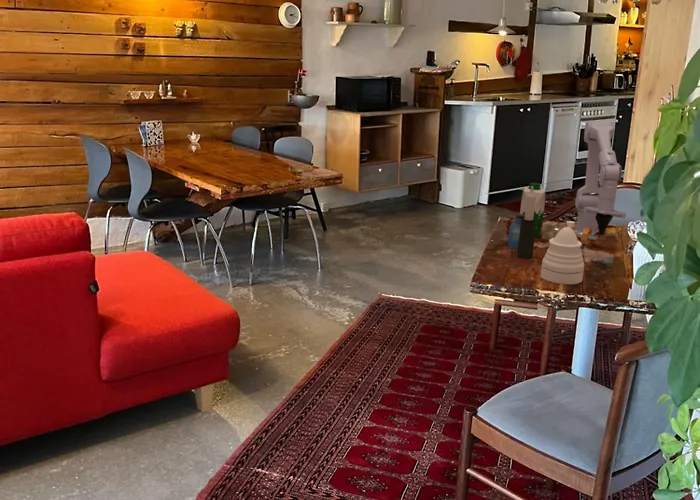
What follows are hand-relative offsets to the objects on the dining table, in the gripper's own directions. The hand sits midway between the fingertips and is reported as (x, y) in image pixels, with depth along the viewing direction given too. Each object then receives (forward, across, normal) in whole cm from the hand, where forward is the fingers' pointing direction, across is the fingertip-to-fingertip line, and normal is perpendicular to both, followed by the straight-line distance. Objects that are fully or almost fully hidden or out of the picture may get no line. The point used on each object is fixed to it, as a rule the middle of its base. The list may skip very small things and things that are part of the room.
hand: (601, 234), depth 247 cm
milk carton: (+5, -27, 0) cm, 28 cm away
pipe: (+3, -11, 0) cm, 12 cm away
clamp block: (+5, -19, 0) cm, 20 cm away
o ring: (+5, -5, 0) cm, 7 cm away
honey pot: (+6, +1, -43) cm, 43 cm away
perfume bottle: (+6, -24, -19) cm, 31 cm away
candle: (+5, -17, -29) cm, 34 cm away
